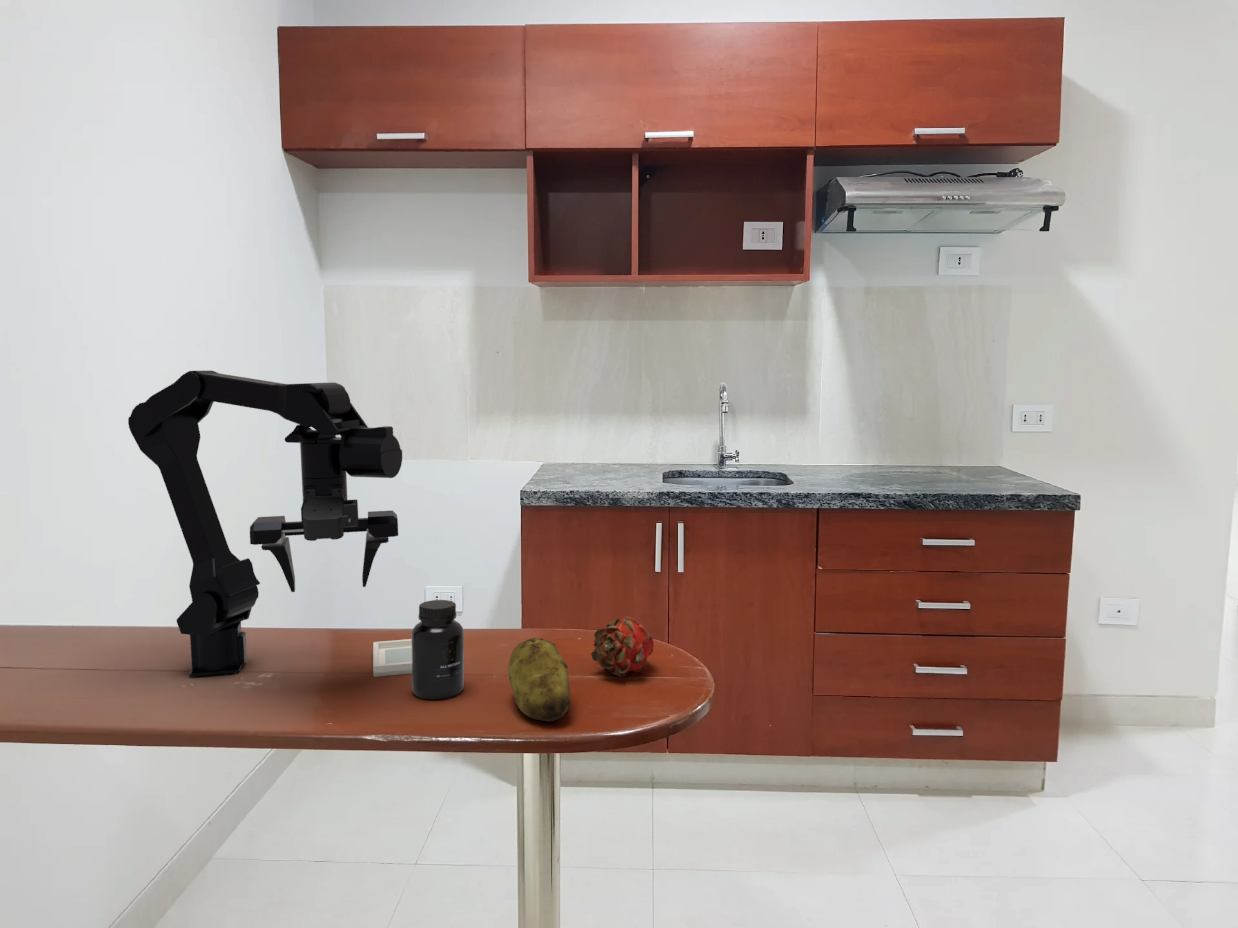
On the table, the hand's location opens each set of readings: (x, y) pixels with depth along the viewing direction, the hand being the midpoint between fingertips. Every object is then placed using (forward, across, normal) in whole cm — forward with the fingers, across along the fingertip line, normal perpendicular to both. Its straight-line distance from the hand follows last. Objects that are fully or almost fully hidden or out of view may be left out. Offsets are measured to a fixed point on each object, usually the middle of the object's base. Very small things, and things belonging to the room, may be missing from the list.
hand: (329, 588), depth 116 cm
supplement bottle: (+13, +14, -8) cm, 21 cm away
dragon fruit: (+14, +40, -7) cm, 43 cm away
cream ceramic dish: (+13, +11, +5) cm, 18 cm away
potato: (+13, +26, -17) cm, 34 cm away
